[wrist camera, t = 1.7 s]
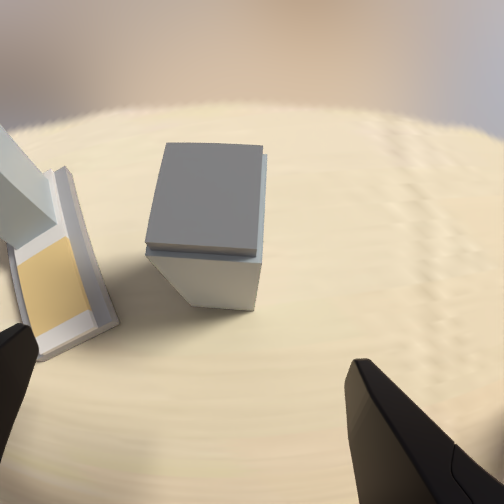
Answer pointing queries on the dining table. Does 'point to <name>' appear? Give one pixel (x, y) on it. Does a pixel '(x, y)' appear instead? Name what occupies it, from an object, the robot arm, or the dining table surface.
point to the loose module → (210, 222)
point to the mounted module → (22, 196)
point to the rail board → (61, 277)
